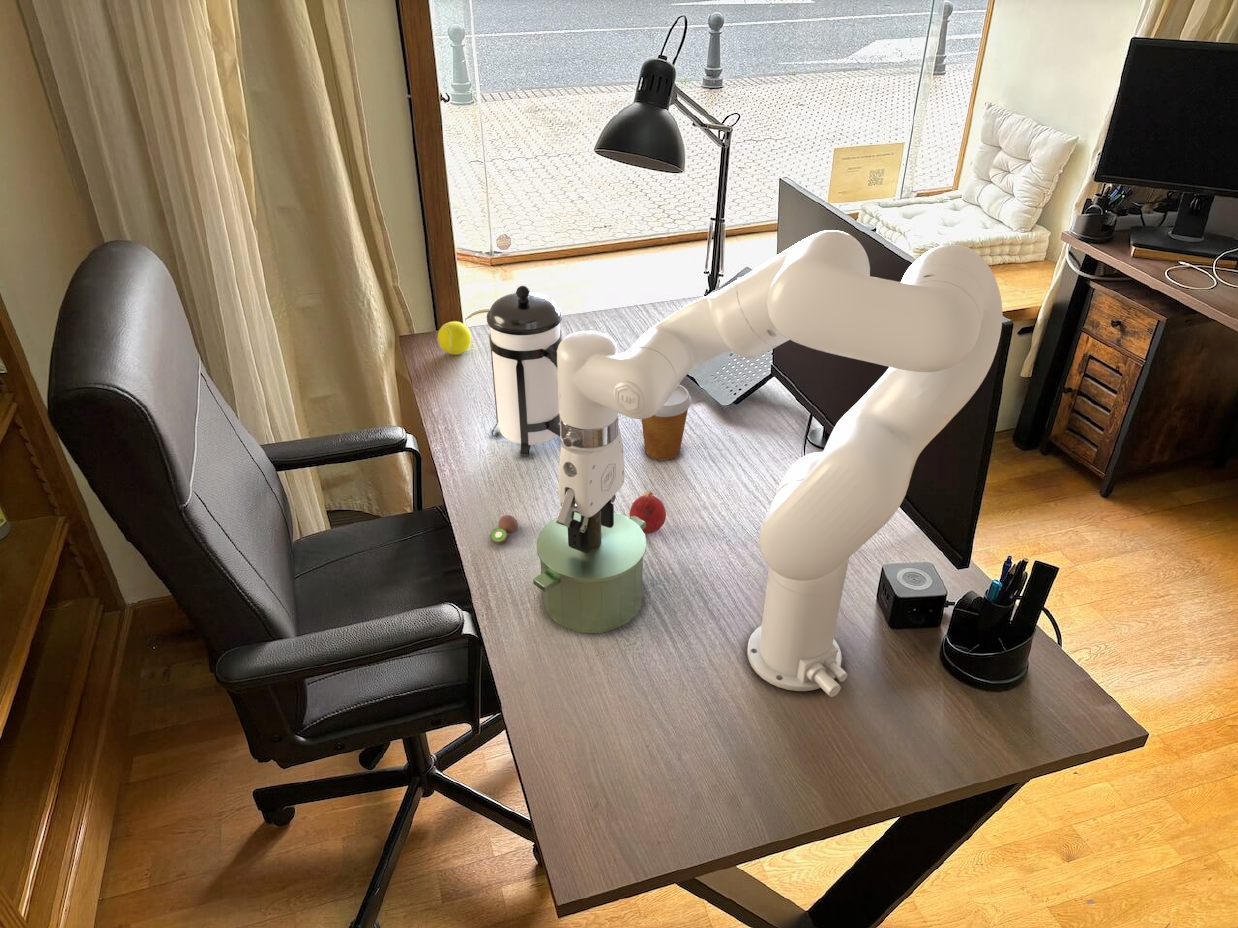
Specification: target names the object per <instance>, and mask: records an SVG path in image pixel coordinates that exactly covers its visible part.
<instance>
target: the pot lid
mask: <svg viewBox="0 0 1238 928" xmlns="http://www.w3.org/2000/svg"><path fill="white" fill-rule="evenodd" d="M556 520H557V517H555V518H553V519H551V521H549V522H548V523H547V524H545V526H544V527H543V528H542V529H541V530H540V532H539V534H538V536H537V539H536V554H537V556H538V558H539V561H540V560H541V562H542V563H543V565H544V566H545V567H546V568H547V569H549V570H550V571H551V572H553V573H555V574H556V575H559V576H561V577H563V578H566V579H569V580H574V581H580V582H600V581H607V580H611V579H615V578H618V577H620V576H622V575H625V574H627V573H628V572H630V571H631V570H633V569H634V568H635V567H636V566H637V565H638V564H639V563H640V562H641V561H642V559H643V560H644V557H645V555H646V551H647V537H646V534H645V533H644V532H643V531H642V529H641V528H640V527H639V525H638V524H636V523H635V522H634V521H633V520H631V519H630V517H628V516H626V515H624V514H621V513H619V512H616V511H614V525H613V526H612V528H608V527H605V526H602V525H601V509H600V510H599V511H598V512H597V513H596V514H595V515H593V516H591V517H589V518H588V523H587V528H589V529H590V551H589V552H588V553H584V552H581V551H579V550H576V549H573V548H571V547H569V545H568V527H566V526H563V525H560V524H558V523H557V522H556ZM574 520H577V521H579V522H580V520H581V514H579V513H576V512H575V513H574Z"/></svg>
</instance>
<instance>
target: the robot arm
mask: <svg viewBox="0 0 1238 928" xmlns="http://www.w3.org/2000/svg"><path fill="white" fill-rule="evenodd" d="M1002 328H1003V301H1002V297H1001V292H1000V288H999V285H998V281H997V279H996V277H995V275H994V272H993V271H992V268H991V267H990V265H989V264H988V262H987V261H986V260H985V259H984V258H983V257H982V256H981V255H980V254H979V253H978V252H977V251H976V250H974V249H972V248H970V247H968V246H965V245H962V244H954V243H951V244H943V245H939V246H936V247H934V248H931V249H930V250H928V251H926V252H924V253H923V254H922V255H921V256H919V257H918V258H917V259H915V261H914V262H913V263H912V264H911V265H910V266H909V267H908V268H907V270H906V271H905V273H904V275H903V277H902V279H901V281H896V280H893V279H886V278H882V277H876V276H871V266H870V261H869V257H868V254H867V252H866V250H865V248H864V247H863V245H862V244H861V242H860V241H858V240H857V239H856V238H855V237H854V236H852V234H849V233H847V232H844V231H841V230H834V229H832V230H831V229H830V230H822V231H819V232H817V233H814V234H812V235H810V236H808V237H806V238H804V239H802V240H801V241H798V242H797V243H795V244H794V245H792V246H790V247H789V248H787V249H785V250H783V251H782V252H781V253H779V254H777V255H775V256H774V257H772V258H771V259H768V260H767V261H766V262H764V263H763V264H761V265H759V266H758V267H756V268H754V269H753V270H751V271H750V272H748V273H746V274H745V275H744V276H741V277H739V278H738V279H736V280H735V281H733V282H731V283H730V284H728V285H726V286H724V287H723V288H721V289H720V290H716V291H715V292H711V293H710V294H708V295H706V296H703V297H700V298H699V299H696V300H694V301H692V302H691V303H688V304H687V305H685V306H683V307H682V308H680V309H679V310H676V311H675V312H674V313H672V314H670V315H669V316H667V317H665V318H663V319H662V320H661V321H659V322H657V323H656V324H655V325H653V326H652V327H650V328H649V329H648V330H646V331H645V332H644V333H642V335H640V337H638V339H636V340H635V342H634V343H633V344H632V345H631V346H630V347H629V348H627V350H626V351H624V352H621V353H619V348H618V345H617V343H616V342H615V340H614V339H613V338H612V337H611V336H609V335H607V334H606V333H603V332H600V331H593V330H586V331H584V330H583V331H577V332H573V333H571V334H568V335H566V336H565V337H564V338H563V339H562V341H561V342H560V344H559V346H558V349H557V369H558V393H559V414H560V415H559V417H560V436H559V438H560V441H561V444H560V452H559V460H558V500H559V505H560V509H559V512H558V514H557V517H556V518H557V520H556V522H557V523H558V524H560V525H563V526H566V527H568V545H569V547H571V548H573V549H576V550H579V551H581V552H584V553H588V552H589V551H590V529H589V528H587V523H588V518H589V517H591V516H593V515H595V514H596V513H597V512H598V511H599V510H600V509H601V525H602V526H605V527H608V528H612V526H613V525H614V512H615V509H614V508H615V507H614V506H615V505H614V502H615V500H616V498H617V496H616V494H617V493H618V492H619V491H620V489H621V488H622V487H623V485H624V482H625V456H624V445H623V439H622V434H621V430H620V426H619V414H620V415H622V416H625V417H628V418H631V419H635V420H642V419H646V418H650V417H652V416H653V415H655V414H656V413H657V412H658V411H659V410H660V409H661V408H662V407H663V405H664V404H665V403H666V401H667V400H668V399H669V397H670V396H671V395H672V393H673V392H674V390H675V389H676V388H677V386H678V385H679V384H680V385H681V383H682V381H683V380H684V379H685V378H686V377H687V376H688V375H689V374H690V373H691V372H693V371H694V370H696V369H698V368H699V367H701V366H703V365H705V364H706V363H709V362H710V361H712V360H714V359H716V358H718V357H720V356H722V355H724V354H726V353H729V352H733V353H734V354H735V355H737V356H738V357H741V358H743V359H746V360H747V359H748V360H750V359H751V360H752V359H757V358H759V357H761V356H763V355H765V354H766V353H768V352H771V351H772V350H774V349H775V348H778V347H780V346H781V345H782V344H783V345H784V344H785V343H787V342H788V341H792V342H794V343H796V344H798V345H801V346H804V347H806V348H809V349H813V350H816V351H819V352H823V353H826V354H832V355H836V356H840V357H845V358H848V359H853V360H858V361H863V362H867V363H872V364H876V365H880V366H884V367H888V368H887V369H886V371H885V372H884V373H883V374H882V375H881V376H880V377H879V379H878V380H877V381H876V382H875V383H873V385H872V386H871V387H870V388H869V389H868V390H867V392H866V393H865V394H863V396H862V397H861V398H860V399H859V400H858V401H857V402H856V403H855V404H854V405H853V406H852V407H850V409H848V411H846V412H845V413H844V414H843V416H841V417H840V419H839V420H838V421H837V422H836V424H835V426H834V427H833V429H832V431H831V433H830V435H829V436H828V439H827V442H826V444H825V446H824V449H823V450H822V451H817V452H812V453H809V454H806V455H804V456H802V457H800V458H799V459H797V460H796V461H795V462H794V463H792V465H790V467H788V469H787V470H786V472H785V473H784V475H783V477H782V478H781V481H780V483H779V485H778V487H777V489H776V491H775V493H774V495H773V498H772V500H771V503H770V505H769V507H768V509H767V511H766V513H765V516H764V517H763V521H762V522H761V525H760V528H759V536H758V543H759V549H760V550H759V551H760V553H761V555H762V558H763V560H764V562H765V563H766V564H767V565H768V573H767V581H766V589H765V597H764V605H763V614H762V620H761V621H762V622H761V625H759V626H758V627H757V628H756V629H755V630H754V631H753V632H752V634H751V635H750V637H749V639H748V642H747V651H746V654H747V659H748V662H749V664H750V666H751V668H752V669H753V670H754V672H755V673H756V674H757V676H759V677H760V678H761V679H762V680H764V681H766V682H767V683H769V684H771V685H773V686H775V687H777V688H780V689H784V690H787V691H794V692H808V691H809V692H810V691H815V690H818V689H821V690H823V692H825V694H826V695H828V696H829V697H830V698H833V697H835V696H837V695H838V694H839V692H840V691H841V689H842V687H841V685H840V683H838V682H841V683H842V682H844V681H845V680H847V678H848V673H847V672H846V671H845V670H844V669H843V668H842V662H843V657H842V651H841V648H840V646H839V643H838V642H837V640H836V639H835V633H836V628H837V624H838V623H837V622H838V619H839V612H840V607H841V601H842V596H843V591H844V586H845V580H846V576H847V571H848V567H849V566H848V565H849V560H850V558H851V556H853V555H854V554H855V553H856V552H857V551H858V550H859V549H860V548H861V547H862V546H864V545H865V544H866V543H867V542H868V541H869V540H871V538H873V536H874V535H875V534H877V533H878V532H879V531H880V530H881V529H882V528H883V527H884V526H885V525H887V523H888V522H889V521H890V520H891V519H892V518H893V516H894V515H895V514H896V513H897V511H898V509H899V508H900V506H901V505H902V503H903V501H904V499H905V497H906V495H907V491H908V490H909V489H908V488H909V486H910V481H911V478H912V475H913V471H914V469H915V466H916V463H917V460H918V458H919V456H920V454H921V453H922V452H923V450H924V449H925V448H926V447H927V446H928V445H929V444H930V442H931V441H932V440H933V439H935V437H936V436H937V435H939V434H940V433H941V432H942V430H944V428H945V427H946V426H947V425H948V424H949V423H950V422H951V421H952V420H953V418H954V417H955V416H956V415H957V414H958V413H959V412H960V411H961V410H962V409H963V408H964V407H965V406H966V404H967V403H968V402H969V401H970V400H971V399H972V397H973V396H974V395H975V394H976V392H977V391H978V390H979V388H980V386H981V385H982V383H983V381H984V380H985V378H986V377H987V375H988V372H989V371H990V369H991V367H992V364H993V362H994V359H995V356H996V353H997V350H998V347H999V343H1000V338H1001V334H1002V333H1001V332H1002ZM575 512H576V513H579V514H581V520H580V522H579V521H577V520H574V513H575ZM835 679H837V680H838V682H837V681H836V680H835Z"/></svg>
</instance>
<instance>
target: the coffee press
mask: <svg viewBox="0 0 1238 928" xmlns="http://www.w3.org/2000/svg"><path fill="white" fill-rule="evenodd" d="M562 317H563V313H562V310H561V308H559V306H558V305H557V304H556V302H555V301H554V300H553V299H552V298H550V297H549V296H547V295H545V294H541V293H537V292H531V291H530V289H529V288H528V287H527V286H526V285H520V286H518V287H517V288H516V290H515V292H514V293H509V294H506V295H504V296H502V297H500V298H497V300H495V301H494V302H493V303H492V305H491V306H490V309H489V310H488V312H487V313H486V323H487V325H488V326H489V335H488V336H489V347H490V357H491V369H492V380H493V392H494V393H493V394H494V406H495V417H496V418H495V419H496V424H495V425H494V426H493V427H492V430H491V435H492V436H493V437H499V436H500V435H502V437H503V438H505V439H506V440H507V441H509V442H511V443H514V444H517V445H518V444H519V445H520V458H530V451H531V450H530V449H531V446H534V445H540V444H541V445H542V444H544V443H547V442H550V441H551V440H553V439H555V438H556V437H560V417H559V415H560V414H559V393H558V369H557V349H558V346H559V344H560V342H561V341H562V340H563V339H562V336H563V335H562V331H561V322H562V319H563V318H562ZM497 426H498V430H499V431H496V430H495V429H496V428H497Z"/></svg>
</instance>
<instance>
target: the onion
mask: <svg viewBox="0 0 1238 928" xmlns="http://www.w3.org/2000/svg"><path fill="white" fill-rule="evenodd" d="M653 494H654V492H653V491H651V490H647V491H645V493H644V495H641V496H639V497H638V498H636V499H635V500H634V501H633V502H632V504H631V506H630V509H629V513H628V514H629V518H631V517H633V516H636V517H638V518H639V519H641V520H643V521H644V522H646V528H644V529H643V530H642V531H643V532H644V534H645V535H649V534H653V533H655V532H657V531H659V530H660V529H661V528H662V527H663V525H664V524H665V522H666V518H667V509H666V508H665V507H666V506H665V505H664V502H663V501H662V500H661V499H660V498H658V497H657V496H656V495H653Z"/></svg>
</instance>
